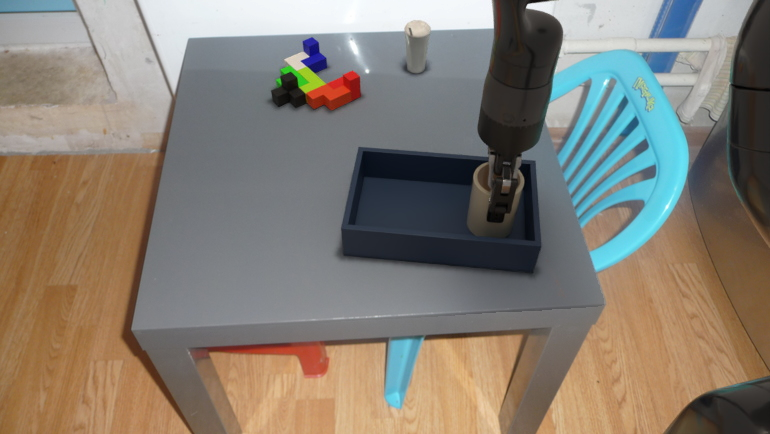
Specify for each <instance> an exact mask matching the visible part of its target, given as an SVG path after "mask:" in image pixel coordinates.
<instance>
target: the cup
mask: <svg viewBox="0 0 770 434" xmlns="http://www.w3.org/2000/svg"><path fill="white" fill-rule="evenodd" d="M488 173H489V163H488V162H486V163H484V164H482V165H480V166H479V167H478V168H477V169H476V170H475V172H474V175H473V182H472V188H471V194H470V200H469V207H468V213H467V219H466V222H467V226H468V228H469V230H470V231H471V232H472V233H473V234H474V235H475V236H483V237H494V238H505V237H507V236H508V235H509V234H510V233H511V231H512V229H513V225H514V221H515V217H516V213H517V210H518V206H519V202H520V198H521V194H522V190H523V186H524V177H523V175H522V173H521V172H520V171H519V170H518V174H517V179H518V186H517V189H516V193H515V196H514V200H513V204H512V210H511V212H510V214H506V213H505V217H504V221H503V222H502V223H492V222H488V221H487V211H488V206H489V202H488V199H489V198H490V190H491V188H490V187H489V186H488V182H487V181H488ZM496 177H501V176H497V175H495V174H494V173H493V179H494V180H496ZM511 178H512V174H511Z"/></svg>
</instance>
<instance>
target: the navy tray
mask: <svg viewBox="0 0 770 434" xmlns="http://www.w3.org/2000/svg"><path fill="white" fill-rule="evenodd" d="M355 156H356V157H355V162H354V166H353V170H352V176H351V179H350V185H349V189H348V194H347V198H346V203H345V207H344V208H345V209H344V212H343V218H342V221H341V227H340V232H341V233H340V234H341V241H342V253H343V256H347V257H348V256H349V257H360V258H367V259H380V260H390V261H391V260H392V261H402V262H410V263H411V262H412V263H422V264H423V263H424V264H433V265H445V266H456V267H466V268H476V269H477V268H478V269H486V270H487V269H489V270H499V271H509V272H518V273H520V272H521V273H528V274H529V273H530V274H531V273H532V274H534V270H535V267H536V265H537V262H538V258H539V256H540V254H541V253H540V252H541V250H542V245H543V244H542V234H541V221H540V218H541V217H540V204H539V203H540V202H539V192H538V191H539V190H538V176H537V162H536V160H532V159H522V160H521V166H520V167H519V168H518V170H519V171H520V172H521V173H522V175H523V177H524V186H523V190H522V194H521V198H520V202H519V206H518V210H517V213H516V217H515V221H514V225H513V229H512V231H511V233H510V234H509V235H508V236H507V237H505V238H494V237H483V236H475V235H474V234H473V233H472V232H471V231H470V230H469V228H468V226H467V222H466V219H467V213H468V207H469V200H470V194H471V188H472V182H473V175H474V172H475V170H476V169H477V168H478V167H479V166H480V165H482V164H484V163H486V162H488V156H483V155H482V156H481V155H469V154H456V153H445V152H444V153H443V152H432V151H431V152H430V151H419V150H417V151H416V150H406V149H394V148H393V149H392V148H382V147H381V148H378V147H366V146H358V147H357V152H356V155H355Z"/></svg>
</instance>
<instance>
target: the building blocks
mask: <svg viewBox="0 0 770 434" xmlns="http://www.w3.org/2000/svg"><path fill="white" fill-rule="evenodd" d="M302 49H303V51H300V52H299V53H298V52H297V53H296V54H293V55H291V56H288V57H286V58H284V59H283V63H284V67H282V68H280V69H279V71H280V76H279V78H277V79H275V82H276V88H274V89H272V90H270V93H271V99H272V101H273V102H274V104H276V105H277V106H278V107H282V106H283V105H285V104H287V103H290V104H292V106H294V108H299V107H300V106H303V105H305V104H308V105H309V106H310V107H311V108H312V109H313V110H316V109H318V108H320V107H322V106H326V108H328V110H329V111H334V110H336V109H338V108H341V107H343V106H344V105H346V104H349V103H351V102H352V101H355V100H356V99H359V98H361V97H362V93H361V75H359V74H358V73H357V72H355V71H354V70H349V71H348V72H346V73H343V74H342V76H340V77H338V78H336V79H334V80H332V81H328V82H327V83H326V82H325V81H324V80H323V79H321V77H319V76H318V75H317V74H316V73H318V72H321V71H324V70H325V69H327V68H328V61H327V57H326V56H325V55H324V54H322V53H321V51H320V42H319V41H318V40H317V39H315V38H314V37H313V36H311V37H309V38H306V39H303V40H302Z"/></svg>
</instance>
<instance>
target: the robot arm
mask: <svg viewBox="0 0 770 434" xmlns="http://www.w3.org/2000/svg"><path fill="white" fill-rule="evenodd" d="M555 1H558V0H491V7H492V19H493V38H492V45H491V52H490V57H489V64H488V68H487V72H486V75H485V78H484V83H483V86H482V87H483V88H482V95H481V101H480V108H479V113H478V121H477V128H476V129H477V134H478V137H479V139H480V140H481V141H482V142H483V144H485V145H486V146H487V155H488V156H487V157H488V163H489V173H488V181H487V182H488V186H489V187H490V188H491V190H490V198H489V199H488V202H489V206H488V211H487V221H488V222H492V223H502V222H503V221H504V217H505V213H506V214H510V212H511V210H512V204H513V200H514V196H515V193H516V189H517V186H518V179H517V174H518V168H519V167H520V166H521V160H523V153H524V152H527V151H530V150H531V149H533V148H534V147H535V146H536V145H537V144H538V143H539V141H540V139H541V135H542V131H543V129H544V124H545V120H546V117H547V112H548V109H549V106H550V103H551V102H550V101H551V97H552V92H553V88H554V87H553V86H554V78H555V73H556V70H557V65H558V63H559V62H558V61H559V57H560V54H561V50H562V46H563V42H564V28H563V25H562V24H561V22H560V20H559V19H558V18H556V17H555V16H554V15H552V14H551V13H548V12H546V11H543V10H537V9H533V8H528V7H527V6H528V5H531V4H539V3H546V2H547V3H548V2H555ZM729 68H730V69H729V79H728V82H729V84H728V101H727V103H728V104H727V124H726V125H727V126H726V127H727V128H726V156H727V157H726V160H727V169H728V175H729V178H730V182H731V184H732V188H733V190H734V192H735V195H736V196H737V198H738V200H739V202H740V205H741V206H742V208H743V209H744V211H745V212H746V214H747V216H748V218H749V219H750V221H751V223H752V225H753V226H754V228H755V230H757V233H758V234H759V235H760V236H761V238H762V239H763V241H764V242H765V244H766V245H767V247H768V249H770V0H752V2H751V3H750V6H749V7H748V10H747V11H746V14H745V16H744V18H743V20H742V21H741V24H740V28H739V30H738V32H737V35H736V38H735V40H734V44H733V48H732V54H731V59H730V67H729ZM493 173H494V174H495V175H497V176H501V177H496V180H494V179H493ZM511 174H512V178H511ZM662 434H770V375H766V376H762V377H757V378H754V379H749V380H746V381H742V382H738V383H734V384H729V385H726V386H722V387H718V388H714V389H711V390H708V391H705V392H703V393H701V394H699V395H697V396H696V397H695V398H693V399H692V400H691V401H689V403H687V404H686V405H685V406H684V407H683V408H682V409H681V410H680V412H679V413H678V414H677V415H676V416H675V417H674V418H673V420H672V421H671V422H670V423H669V425H667V428H666V429H665V430H664V431H663V432H662Z"/></svg>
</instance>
